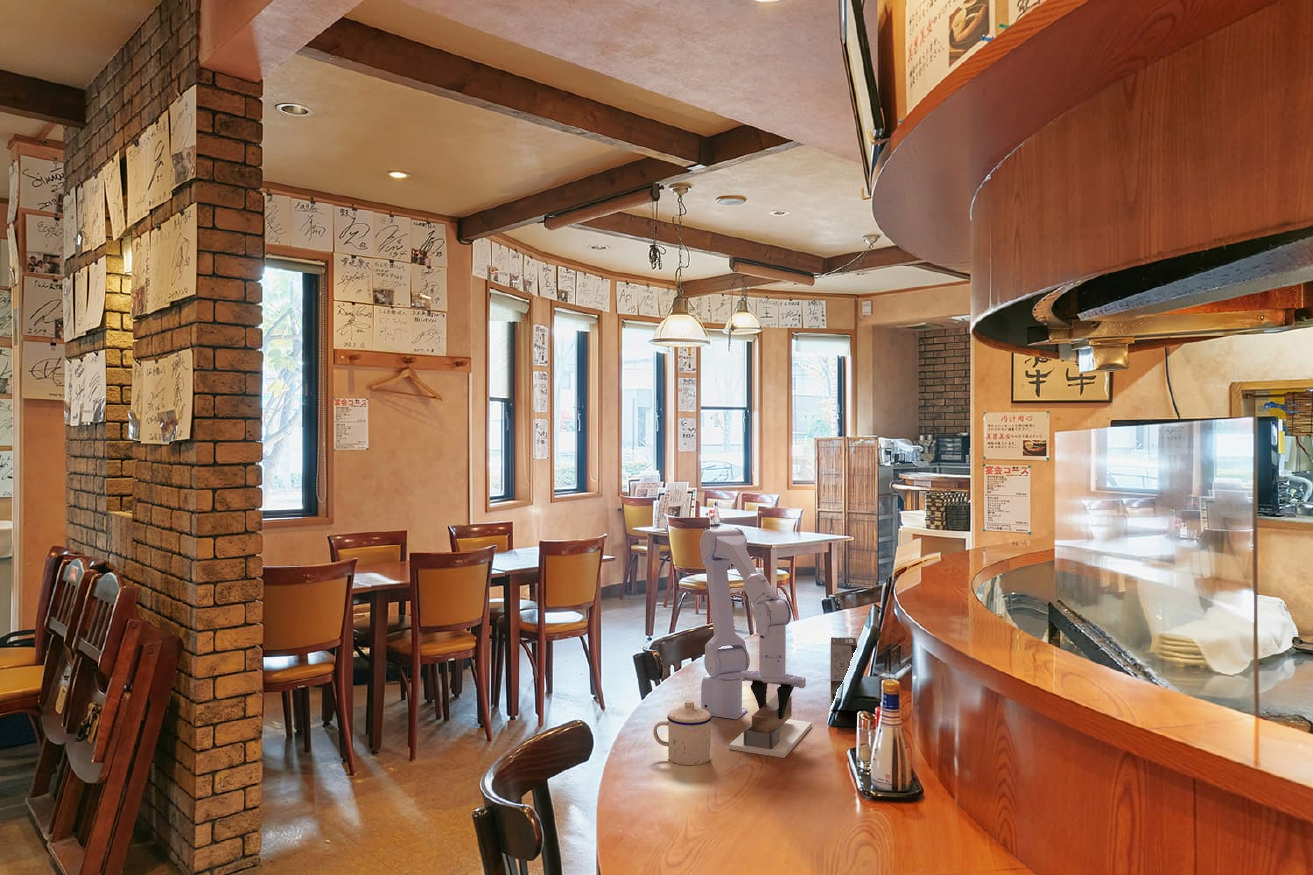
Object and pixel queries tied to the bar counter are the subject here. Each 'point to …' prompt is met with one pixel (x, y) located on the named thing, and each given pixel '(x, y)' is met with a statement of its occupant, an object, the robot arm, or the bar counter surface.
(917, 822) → the bar counter surface
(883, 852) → the bar counter surface
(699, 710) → the teacup with lid
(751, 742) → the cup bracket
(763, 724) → the rail
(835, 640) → the coffee box
